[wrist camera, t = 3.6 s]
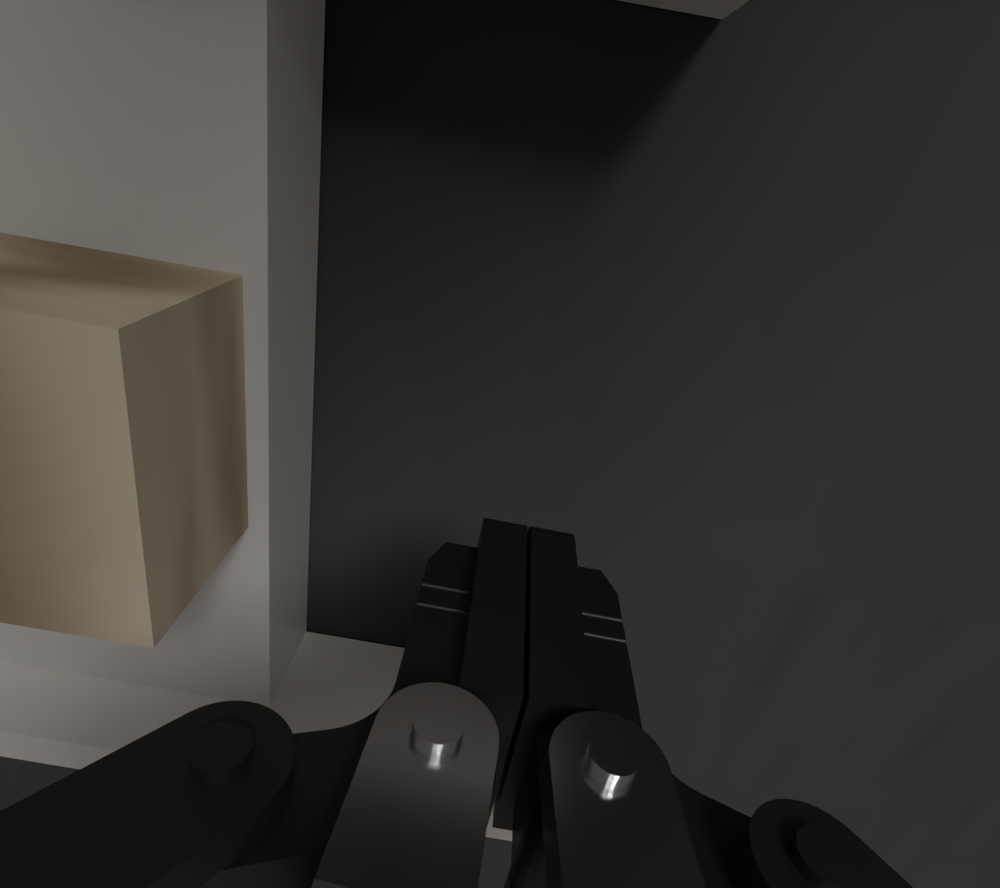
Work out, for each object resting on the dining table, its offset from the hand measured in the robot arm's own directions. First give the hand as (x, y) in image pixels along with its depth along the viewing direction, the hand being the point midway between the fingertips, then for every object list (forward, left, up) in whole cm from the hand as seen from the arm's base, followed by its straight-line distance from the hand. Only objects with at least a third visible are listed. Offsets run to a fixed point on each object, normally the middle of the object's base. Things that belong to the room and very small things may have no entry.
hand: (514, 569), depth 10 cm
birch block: (+10, 0, -4) cm, 10 cm away
